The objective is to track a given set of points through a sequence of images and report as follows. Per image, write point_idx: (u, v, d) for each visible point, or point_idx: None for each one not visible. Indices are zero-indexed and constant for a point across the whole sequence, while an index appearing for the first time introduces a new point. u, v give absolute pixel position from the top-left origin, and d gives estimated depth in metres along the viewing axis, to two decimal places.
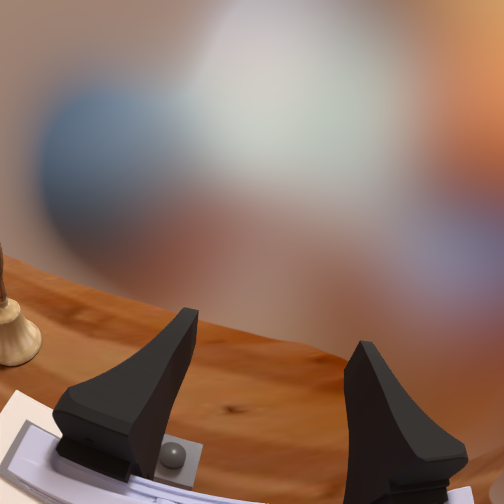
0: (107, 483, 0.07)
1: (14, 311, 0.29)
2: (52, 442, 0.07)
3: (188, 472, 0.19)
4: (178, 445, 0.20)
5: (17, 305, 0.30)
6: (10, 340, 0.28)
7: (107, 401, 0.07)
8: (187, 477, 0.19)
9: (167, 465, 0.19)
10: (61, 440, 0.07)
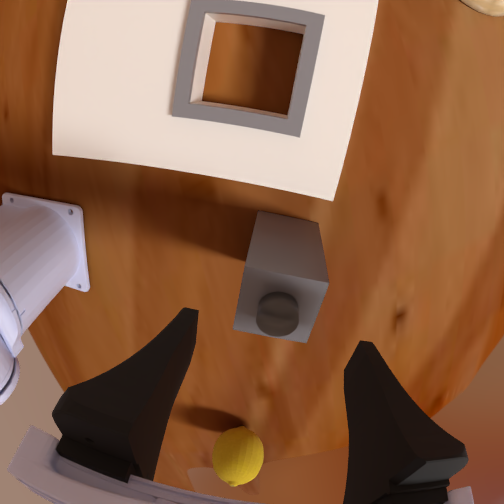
0: (107, 483, 0.07)
1: None
2: (52, 442, 0.07)
3: (256, 326, 0.17)
4: (293, 328, 0.15)
5: None
6: None
7: (107, 401, 0.07)
8: (247, 324, 0.17)
9: (257, 310, 0.15)
10: (61, 441, 0.07)
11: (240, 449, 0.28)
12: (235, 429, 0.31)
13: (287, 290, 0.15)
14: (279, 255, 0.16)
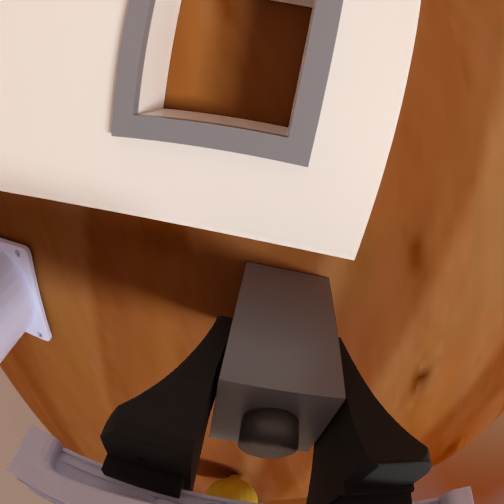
0: (107, 483, 0.07)
1: None
2: (52, 442, 0.07)
3: None
4: (290, 452, 0.09)
5: None
6: None
7: (163, 419, 0.07)
8: (228, 434, 0.11)
9: (239, 431, 0.09)
10: (107, 460, 0.07)
11: None
12: (226, 481, 0.26)
13: (283, 406, 0.10)
14: (274, 350, 0.11)
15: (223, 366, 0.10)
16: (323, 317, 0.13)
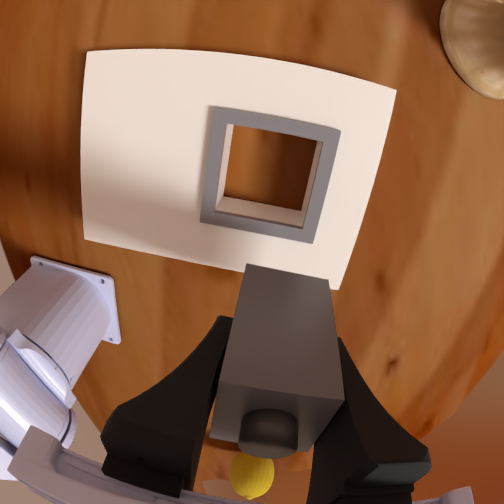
0: (107, 483, 0.07)
1: None
2: (52, 442, 0.07)
3: None
4: (289, 453, 0.09)
5: None
6: (487, 53, 0.12)
7: (162, 419, 0.07)
8: (228, 435, 0.11)
9: (239, 432, 0.10)
10: (106, 460, 0.07)
11: (254, 468, 0.32)
12: None
13: (282, 407, 0.10)
14: (273, 352, 0.11)
15: (223, 368, 0.10)
16: (322, 319, 0.13)
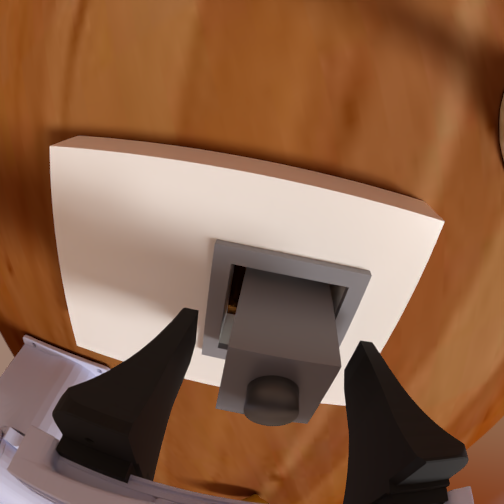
0: (107, 483, 0.07)
1: None
2: (52, 442, 0.07)
3: None
4: (291, 419, 0.11)
5: None
6: None
7: (107, 401, 0.07)
8: (233, 405, 0.12)
9: (245, 398, 0.11)
10: (62, 440, 0.07)
11: None
12: (250, 500, 0.32)
13: (285, 374, 0.11)
14: (276, 324, 0.12)
15: (231, 336, 0.11)
16: (321, 297, 0.14)
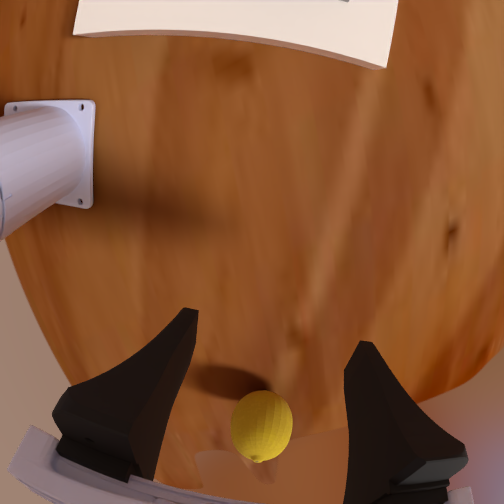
0: (107, 483, 0.07)
1: None
2: (52, 442, 0.07)
3: None
4: None
5: None
6: None
7: (107, 401, 0.07)
8: None
9: None
10: (61, 441, 0.07)
11: (267, 414, 0.24)
12: (258, 391, 0.27)
13: None
14: None
15: None
16: None
